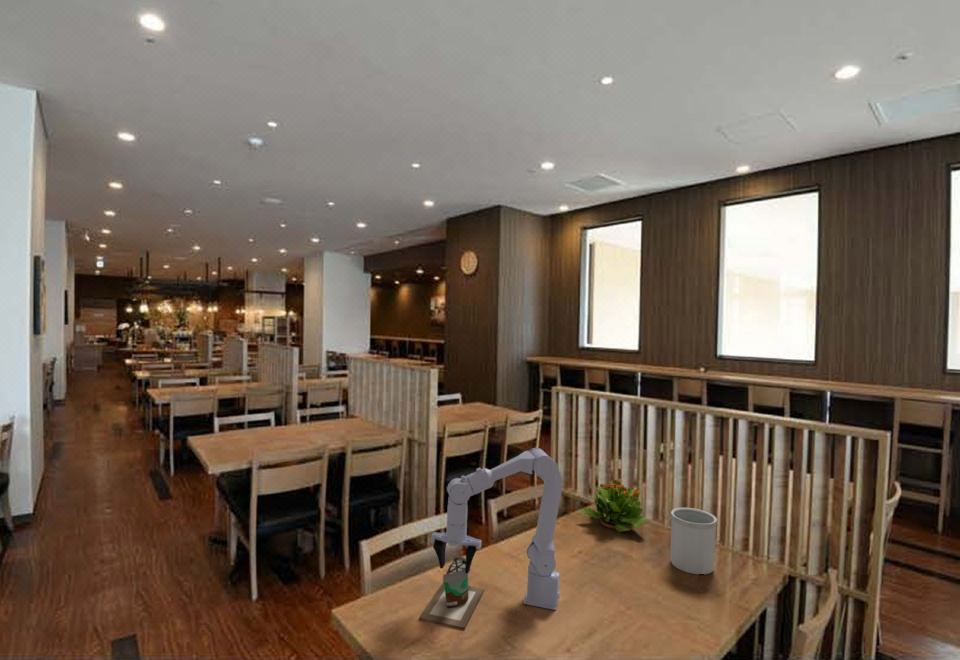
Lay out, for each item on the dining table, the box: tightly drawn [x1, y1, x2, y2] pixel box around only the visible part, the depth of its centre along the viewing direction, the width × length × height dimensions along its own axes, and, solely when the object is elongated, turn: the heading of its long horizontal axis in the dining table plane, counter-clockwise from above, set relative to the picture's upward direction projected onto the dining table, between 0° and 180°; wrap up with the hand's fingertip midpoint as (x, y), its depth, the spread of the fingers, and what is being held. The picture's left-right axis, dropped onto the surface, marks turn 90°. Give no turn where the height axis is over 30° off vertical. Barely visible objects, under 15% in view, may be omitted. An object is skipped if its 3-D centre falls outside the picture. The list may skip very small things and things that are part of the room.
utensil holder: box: [670, 507, 718, 575], centre depth 174 cm, size 15×15×18 cm
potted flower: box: [580, 478, 647, 533], centre depth 207 cm, size 25×24×18 cm
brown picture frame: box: [418, 581, 485, 631], centre depth 143 cm, size 13×20×1 cm, turn 164°
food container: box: [442, 555, 471, 608], centre depth 144 cm, size 12×6×10 cm, turn 168°
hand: (454, 569), depth 143 cm, fingers open, 7 cm apart
